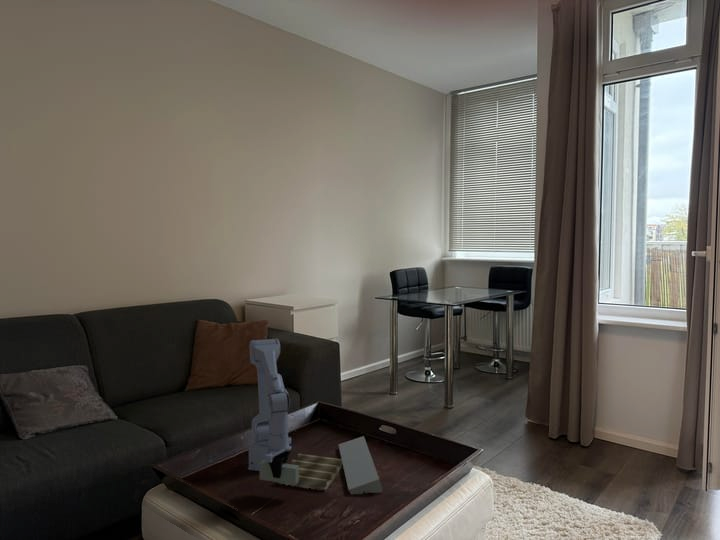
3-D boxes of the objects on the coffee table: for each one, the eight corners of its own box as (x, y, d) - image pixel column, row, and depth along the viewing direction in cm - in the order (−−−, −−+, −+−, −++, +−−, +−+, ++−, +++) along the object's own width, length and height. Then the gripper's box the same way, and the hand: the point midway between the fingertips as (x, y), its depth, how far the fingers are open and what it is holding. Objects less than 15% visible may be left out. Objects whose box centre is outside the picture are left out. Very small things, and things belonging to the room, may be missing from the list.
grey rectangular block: (352, 504, 155) (383, 493, 156) (348, 489, 154) (379, 479, 156) (341, 456, 189) (367, 447, 190) (338, 444, 188) (363, 435, 189)
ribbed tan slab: (278, 484, 161) (278, 474, 161) (299, 461, 178) (299, 453, 177) (325, 491, 157) (325, 481, 157) (342, 467, 173) (342, 458, 173)
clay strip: (259, 479, 155) (259, 463, 155) (263, 475, 157) (263, 460, 157) (295, 484, 152) (295, 468, 151) (298, 481, 154) (298, 465, 154)
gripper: (280, 442, 145) (280, 488, 146) (299, 424, 159) (300, 466, 160) (258, 440, 147) (258, 484, 148) (279, 422, 161) (279, 463, 162)
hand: (278, 475), depth 154 cm, fingers closed on clay strip, 2 cm apart
